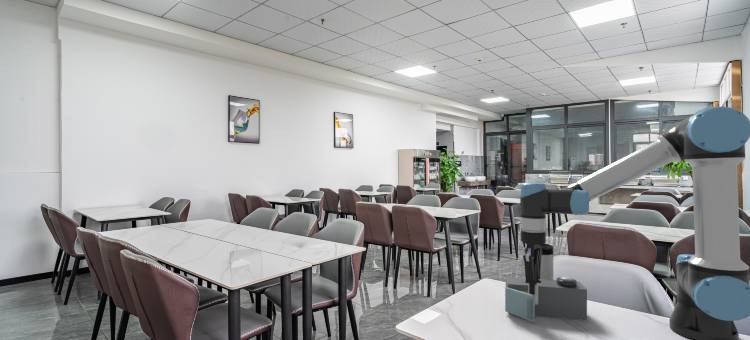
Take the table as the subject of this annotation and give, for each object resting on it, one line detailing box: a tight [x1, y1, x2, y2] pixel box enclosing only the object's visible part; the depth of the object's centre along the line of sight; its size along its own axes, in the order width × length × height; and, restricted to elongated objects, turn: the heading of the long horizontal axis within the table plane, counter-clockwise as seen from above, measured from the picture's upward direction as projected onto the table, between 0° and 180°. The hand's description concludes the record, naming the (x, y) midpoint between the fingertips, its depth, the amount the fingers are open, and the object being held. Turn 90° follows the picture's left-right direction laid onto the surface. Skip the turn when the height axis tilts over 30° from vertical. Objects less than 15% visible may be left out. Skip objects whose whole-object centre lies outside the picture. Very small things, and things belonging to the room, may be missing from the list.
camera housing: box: [505, 276, 588, 321], centre depth 123 cm, size 24×8×12 cm, turn 75°
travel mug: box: [540, 243, 554, 280], centre depth 137 cm, size 6×7×20 cm
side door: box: [504, 286, 536, 322], centre depth 117 cm, size 10×2×8 cm, turn 35°
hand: (533, 303), depth 117 cm, fingers closed
